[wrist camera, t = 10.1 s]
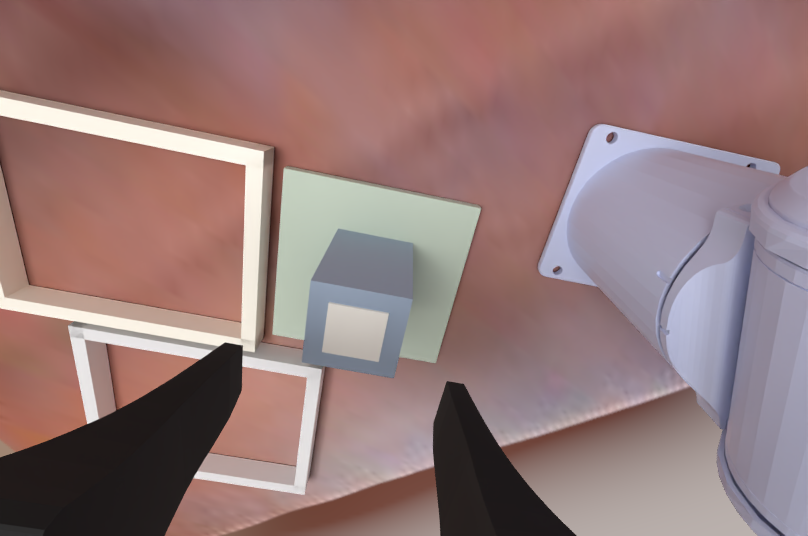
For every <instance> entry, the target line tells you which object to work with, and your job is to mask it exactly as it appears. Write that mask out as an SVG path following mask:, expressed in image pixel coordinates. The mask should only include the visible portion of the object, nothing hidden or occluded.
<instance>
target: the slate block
mask: <svg viewBox="0 0 808 536" xmlns="http://www.w3.org/2000/svg"><path fill="white" fill-rule="evenodd" d="M412 301H413V243H410V242H404V241H399V240H394V239H389V238H384V237H379V236H374V235H369V234H364V233H358V232H353V231H348V230H343V229H338V230H337V232H336V234H335V235H334V237H333V239H332V241H331V243H330V245H329V247H328V249H327V251H326V252H325V254H324V256H323V258H322V260H321V262H320V264H319V266H318V267H317V269H316V271H315V273H314V275H313V277H312V279H311V282H310V291H309V300H308V309H307V318H306V327H305V336H304V345H303V355H302V363H308V364H314V365H320V366H326V367H331V368H337V369H343V370H349V371H355V372H360V373H366V374H372V375H378V376H384V377H389V378H394V376H395V371H396V367H397V363H398V359H399V355H400V351H401V347H402V342H403V338H404V334H405V330H406V326H407V322H408V318H409V313H410V309H411V305H412Z"/></svg>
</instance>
